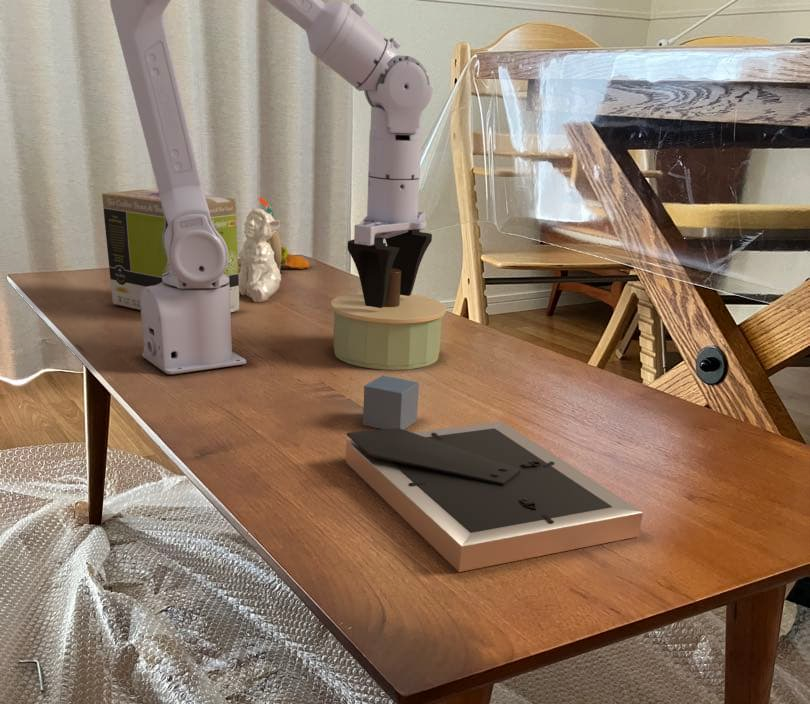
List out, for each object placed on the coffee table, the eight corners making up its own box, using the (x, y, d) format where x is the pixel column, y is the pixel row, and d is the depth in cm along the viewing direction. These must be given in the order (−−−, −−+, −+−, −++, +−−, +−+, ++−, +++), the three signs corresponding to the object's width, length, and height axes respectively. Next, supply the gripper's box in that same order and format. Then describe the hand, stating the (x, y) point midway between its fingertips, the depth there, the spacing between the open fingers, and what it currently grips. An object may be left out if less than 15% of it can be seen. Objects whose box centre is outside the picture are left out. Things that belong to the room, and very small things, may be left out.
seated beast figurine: (211, 292, 135) (207, 206, 129) (251, 283, 141) (249, 201, 136) (258, 303, 130) (256, 215, 125) (298, 294, 136) (298, 209, 131)
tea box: (242, 311, 126) (238, 197, 119) (190, 324, 118) (183, 204, 111) (163, 293, 133) (155, 185, 126) (109, 305, 125) (98, 190, 118)
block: (399, 433, 87) (401, 393, 85) (362, 425, 89) (363, 385, 87) (417, 421, 90) (419, 382, 89) (380, 413, 92) (382, 375, 90)
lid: (371, 334, 100) (372, 286, 98) (309, 306, 110) (309, 263, 107) (468, 321, 107) (472, 277, 105) (402, 296, 117) (404, 255, 114)
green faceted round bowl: (371, 375, 103) (372, 327, 100) (315, 347, 112) (315, 302, 109) (459, 361, 109) (462, 315, 107) (399, 335, 118) (401, 293, 116)
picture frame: (345, 462, 80) (458, 572, 64) (346, 432, 79) (462, 536, 62) (499, 441, 86) (638, 536, 70) (502, 413, 85) (645, 503, 69)
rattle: (311, 275, 149) (311, 201, 143) (260, 274, 147) (258, 199, 142) (309, 266, 155) (309, 195, 150) (260, 265, 154) (258, 193, 149)
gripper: (398, 186, 94) (392, 317, 100) (451, 175, 106) (443, 293, 112) (338, 179, 97) (336, 308, 103) (397, 169, 108) (392, 285, 115)
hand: (388, 300), depth 108 cm, fingers open, 7 cm apart
